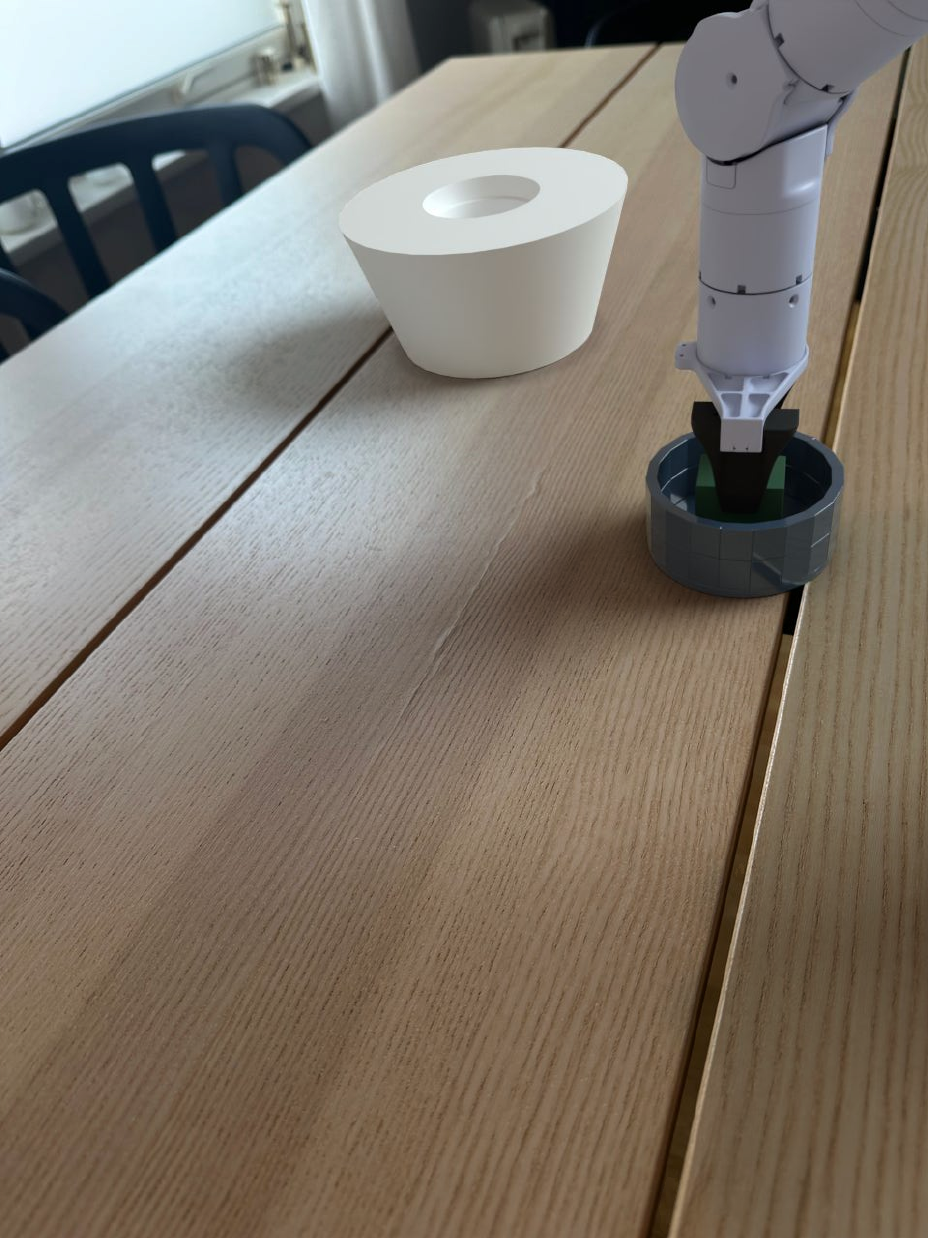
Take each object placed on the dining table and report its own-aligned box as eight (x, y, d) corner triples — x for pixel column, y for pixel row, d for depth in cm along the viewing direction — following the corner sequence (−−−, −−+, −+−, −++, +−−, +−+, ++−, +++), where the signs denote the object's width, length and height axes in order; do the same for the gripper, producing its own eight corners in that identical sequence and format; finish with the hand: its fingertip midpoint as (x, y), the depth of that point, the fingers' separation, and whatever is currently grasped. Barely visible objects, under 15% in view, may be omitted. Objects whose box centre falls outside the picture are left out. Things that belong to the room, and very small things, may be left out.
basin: (834, 490, 64) (843, 424, 61) (835, 604, 56) (846, 534, 53) (658, 484, 68) (657, 421, 64) (636, 591, 60) (634, 525, 56)
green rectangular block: (781, 496, 61) (785, 455, 59) (780, 530, 59) (783, 488, 57) (699, 493, 63) (700, 453, 61) (694, 526, 60) (695, 485, 58)
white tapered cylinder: (568, 255, 99) (559, 129, 92) (681, 348, 82) (682, 200, 74) (341, 317, 96) (312, 191, 88) (407, 428, 78) (378, 282, 70)
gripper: (689, 220, 57) (686, 425, 66) (659, 337, 47) (660, 560, 56) (818, 215, 55) (796, 427, 64) (816, 336, 45) (791, 567, 54)
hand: (741, 489), depth 60 cm, fingers closed on green rectangular block, 3 cm apart
